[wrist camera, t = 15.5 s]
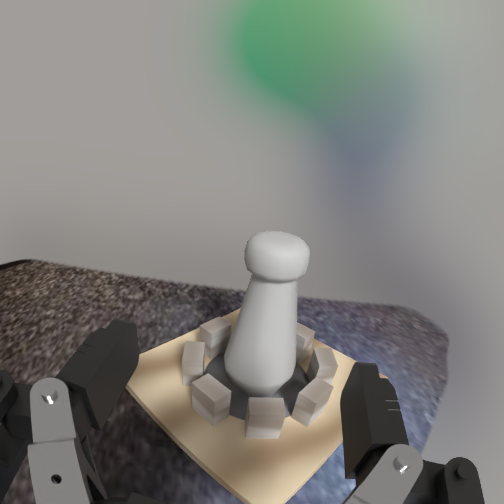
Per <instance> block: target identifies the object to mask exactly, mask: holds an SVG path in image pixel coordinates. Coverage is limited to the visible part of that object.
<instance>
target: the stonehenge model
mask: <svg viewBox="0 0 504 504" xmlns="http://www.w3.org/2000/svg"><path fill="white" fill-rule="evenodd" d="M240 309H241V308H240ZM240 309H238V310H236V311H234V312H232V313H230V314H227V315H225V316H223V317H220V316H219V317H217V318H215V319H213V320H210V321H208V322H206V323H204V324H202V325H200V328H198V329H195V330H193V331H191V332H189V333H187V334H185V335H182V336H180V337H178V338H176V339H173V340H171V341H169V342H167V343H165V344H162V345H160V346H158V347H156V348H153V349H151V350H149V351H147V352H144V353H142V354H140V355H139V362H138V365H137V368H136V370H135V371H134V373H133V375H132V377H131V378H130V380H129V382H128V383H127V385H126V387H125V388H126V389H127V390H128V391H129V393H130V394H131V395H132V396H133V397H134V398H135V400H136V401H137V402H138V403H139V404H140V405H141V407H142V408H143V409H144V410H145V411H146V412H147V413H148V414H149V416H150V417H151V418H152V419H153V420H154V421H155V422H156V423H157V424H158V425H159V426H160V427H161V428H162V430H163V431H164V432H165V433H166V434H167V435H168V436H169V437H170V438H171V439H172V440H173V441H174V442H175V443H176V444H177V445H178V446H179V447H180V448H181V449H182V450H183V451H184V452H185V453H186V454H187V455H188V456H189V457H191V458H192V459H193V460H194V461H195V462H196V463H197V464H198V465H199V466H200V467H201V468H202V469H204V470H205V471H206V472H207V473H208V474H209V475H210V476H211V477H213V478H214V479H215V480H216V481H217V482H218V483H219V484H221V485H222V486H223V487H224V488H225V489H227V490H228V491H229V492H230V493H231V494H233V495H234V496H235V497H236V498H238V499H239V500H240V501H241V502H243V503H244V504H285V503H286V502H287V501H288V500H289V499H290V498H291V497H292V496H293V495H294V494H295V493H296V492H297V491H298V490H299V489H300V488H301V487H302V486H303V485H304V484H305V483H306V482H307V481H308V480H309V479H310V478H311V477H312V476H313V474H314V473H315V472H316V471H317V470H318V469H319V468H320V467H321V466H322V465H323V463H324V462H325V461H326V460H327V459H328V458H329V457H330V455H331V454H332V453H333V452H334V451H335V450H336V448H337V447H338V446H339V445H340V444H341V442H342V441H343V435H342V423H341V411H340V398H341V393H342V390H343V388H344V386H345V383H346V381H347V379H348V376H349V374H350V372H351V369H352V367H353V365H354V363H355V362H357V361H355V360H353V359H351V358H349V357H347V356H345V355H344V354H342V353H340V352H338V351H336V350H334V349H332V348H330V347H328V346H327V345H325V344H323V343H321V342H319V341H317V340H316V339H314V335H315V331H313V330H311V329H309V328H307V327H305V326H304V325H302V324H300V323H298V322H297V337H296V364H295V368H294V372H293V375H292V377H291V378H290V379H289V380H288V381H287V382H286V383H284V384H283V385H282V386H281V387H280V388H279V389H278V390H277V391H276V392H275V393H274V394H273V395H272V396H262V397H249V396H247V395H246V394H245V393H243V392H242V391H240V390H239V389H238V388H236V387H235V386H234V385H233V383H232V382H231V380H230V378H229V376H228V374H227V372H226V368H225V361H224V354H225V351H226V349H227V346H228V343H229V340H230V337H231V334H232V332H233V329H234V326H235V323H236V320H237V317H238V315H239V312H240ZM379 375H380V378H387V379H388V377H386V376H384V375H382V374H380V373H379Z"/></svg>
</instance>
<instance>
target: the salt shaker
mask: <svg viewBox="0 0 504 504" xmlns="http://www.w3.org/2000/svg"><path fill="white" fill-rule="evenodd" d="M309 254H310V249H309V247H308V246H307V245H306V243H305V242H304V241H303V240H302V239H301V238H299V237H297V236H295V235H292V234H289V233H285V232H279V231H263V232H260V233H256V234H255V235H253V236H252V237H251V238H250V239H249V240H248V241H247V245H246V248H245V257H244V258H245V259H244V260H245V263H246V266H247V269H248V271H250V272H251V273H252V275H251V279H250V282H249V285H248V288H247V291H246V294H245V297H244V300H243V303H242V306H241V309H240V312H239V315H238V317H237V320H236V323H235V326H234V329H233V332H232V334H231V337H230V340H229V343H228V346H227V349H226V351H225V354H224V361H225V368H226V372H227V374H228V376H229V378H230V380H231V382H232V383H233V385H234V386H235V387H236V388H238V389H239V390H240V391H242V392H243V393H245V394H246V395H247V396H249V397H262V396H272V395H273V394H274V393H275V392H276V391H277V390H278V389H279V388H280V387H281V386H282V385H283V384H284V383H286V382H287V381H288V380H289V379H290V378H291V377H292V375H293V372H294V368H295V364H296V337H297V279H299V278H301V277H303V276H304V274H305V272H306V269H307V266H308V262H309V258H310V257H309V256H310V255H309Z"/></svg>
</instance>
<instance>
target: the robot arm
mask: <svg viewBox="0 0 504 504" xmlns="http://www.w3.org/2000/svg"><path fill="white" fill-rule="evenodd" d="M138 362H139V347H138V338H137V329H136V325H135V323H134V322H130V321H126V320H122V319H118V318H115V319H114V320H113V321H112V322H111V323H110V324H109V326H108V327H107V328H106V329H104V328H100V329H98V330H96V331H95V332H93V333H91V334H90V335H89V336H88V337H87V338H86V340H85V341H84V342H83V345H81V346H80V347H79V348H78V349H77V352H75V353H74V354H73V356H72V357H71V358H70V359H69V361H68V362H67V363H66V364H65V366H64V367H63V368H62V369H61V371H60V372H59V373H58V374H57V376H56V377H55V378H45V379H42V380H40V381H38V382H37V383H35V384H34V385H33V386H32V385H25V384H18V383H14V382H13V379H12V377H11V375H10V374H9V373H8V372H6V371H4V370H0V422H1V425H0V504H1V503H2V501H3V499H4V497H5V495H6V493H7V491H8V489H9V487H10V485H11V483H12V481H13V479H14V477H15V475H16V473H17V471H18V469H19V467H20V466H21V464H22V462H23V460H24V458H25V456H26V455H27V453H28V457H29V465H30V472H31V479H32V485H33V490H34V495H35V500H36V504H168V503H166V502H163V501H159V500H156V499H153V498H150V497H146V496H143V495H140V494H137V493H134V492H131V494H130V497H129V498H108V497H107V494H106V492H105V489H104V487H103V485H102V483H101V480H100V478H99V475H98V472H97V468H96V465H95V461H94V458H93V454H92V451H91V447H90V443H89V439H88V435H87V432H88V431H89V429H90V427H93V428H95V429H98V430H100V431H101V430H102V428H103V426H104V424H105V422H106V421H107V419H108V417H109V415H110V413H111V412H112V410H113V408H114V406H115V405H116V403H117V401H118V399H119V397H120V396H121V394H122V392H123V390H124V389H125V387H126V385H127V383H128V382H129V380H130V378H131V377H132V375H133V373H134V371H135V370H136V368H137V365H138ZM397 400H398V399H397V395H396V392H395V388H394V387H393V386H392V384H391V383H390V382H389V380H388V379H387V378H380V375H379V371H378V368H377V365H376V364H375V363H363V362H355V363H354V365H353V367H352V369H351V372H350V374H349V376H348V379H347V381H346V383H345V386H344V388H343V390H342V393H341V398H340V411H341V423H342V435H343V448H344V464H345V479H356V487H355V488H354V489H353V490H352V491H351V493H350V494H349V495H348V496H347V497H346V499H345V500H344V501H343V502H342V503H341V504H485V503H484V498H483V493H482V489H481V484H480V480H479V476H478V472H477V469H476V467H475V465H474V464H473V463H472V462H471V461H470V460H468V459H466V458H462V457H457V458H453V459H451V460H450V461H449V462H448V463H447V464H446V465H443V464H437V463H433V462H429V461H425V460H423V459H422V457H421V455H420V453H419V452H418V451H417V450H416V449H415V448H413V447H411V446H409V443H408V439H407V435H406V430H405V426H404V422H403V418H402V414H401V411H400V406H399V403H398V402H397Z"/></svg>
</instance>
